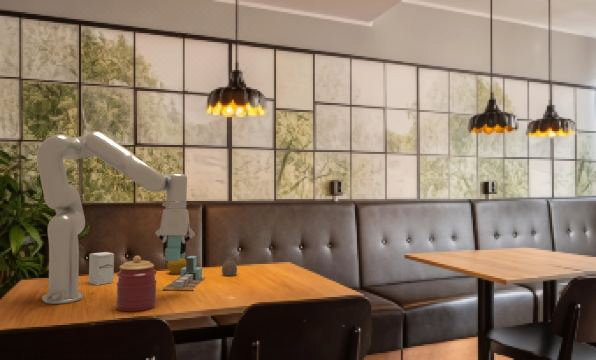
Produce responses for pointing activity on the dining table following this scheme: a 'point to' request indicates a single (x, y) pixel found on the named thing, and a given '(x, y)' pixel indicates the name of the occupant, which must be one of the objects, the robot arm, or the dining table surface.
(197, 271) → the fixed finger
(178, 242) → the teal block toy
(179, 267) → the apple
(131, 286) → the canister
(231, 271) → the vase
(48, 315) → the dining table surface
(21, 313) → the dining table surface
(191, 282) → the rail board
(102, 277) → the supplement box
